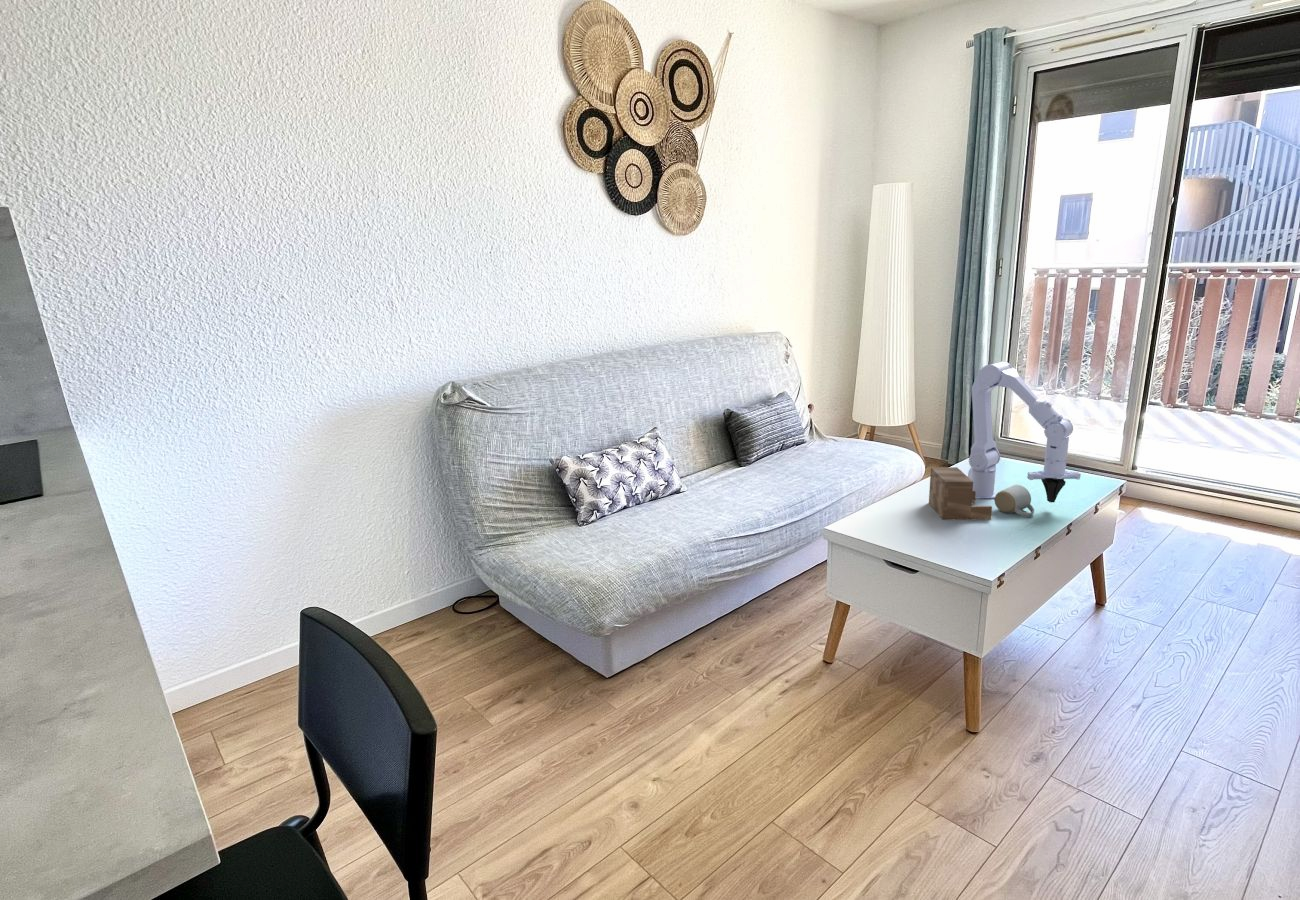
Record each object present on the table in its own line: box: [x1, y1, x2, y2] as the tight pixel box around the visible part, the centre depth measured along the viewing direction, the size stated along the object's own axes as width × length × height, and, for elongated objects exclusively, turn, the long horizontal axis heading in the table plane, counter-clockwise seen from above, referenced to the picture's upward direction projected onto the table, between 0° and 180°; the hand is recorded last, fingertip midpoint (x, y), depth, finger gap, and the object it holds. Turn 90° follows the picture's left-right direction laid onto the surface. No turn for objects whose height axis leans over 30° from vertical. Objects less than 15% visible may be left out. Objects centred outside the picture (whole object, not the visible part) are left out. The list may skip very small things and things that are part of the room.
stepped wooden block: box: [928, 466, 993, 521], centre depth 217 cm, size 15×14×12 cm
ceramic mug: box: [994, 484, 1035, 518], centre depth 215 cm, size 11×8×8 cm
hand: (1050, 501), depth 215 cm, fingers closed
